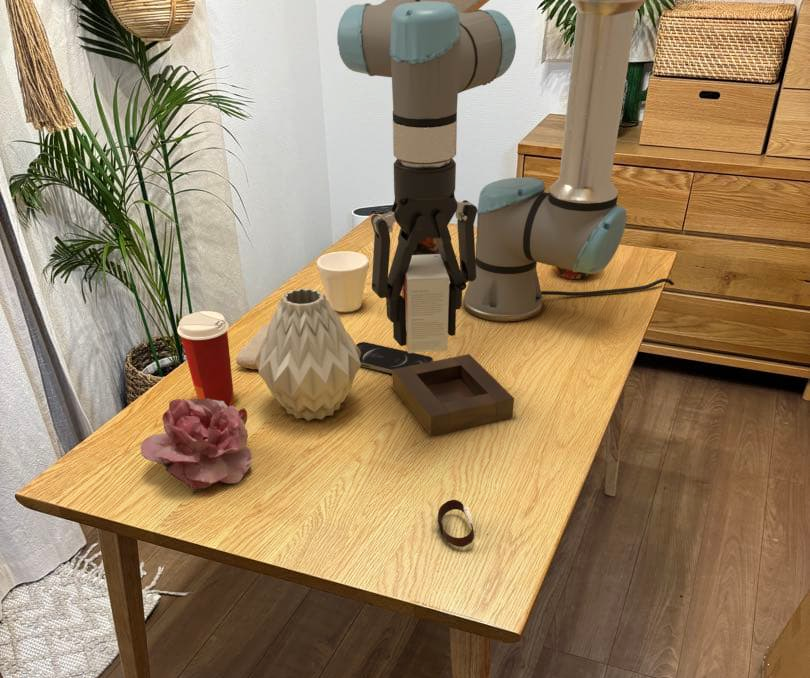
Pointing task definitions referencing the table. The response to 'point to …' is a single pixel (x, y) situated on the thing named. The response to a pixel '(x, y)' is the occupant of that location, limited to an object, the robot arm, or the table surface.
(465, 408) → the square wooden frame
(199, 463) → the flower
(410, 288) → the small box
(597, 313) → the table surface
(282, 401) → the vase
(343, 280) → the cup
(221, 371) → the paper cup
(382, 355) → the smartphone
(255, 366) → the washcloth
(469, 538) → the watch
